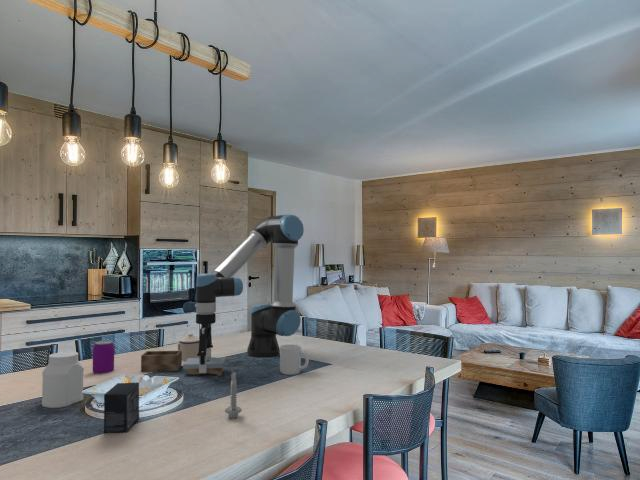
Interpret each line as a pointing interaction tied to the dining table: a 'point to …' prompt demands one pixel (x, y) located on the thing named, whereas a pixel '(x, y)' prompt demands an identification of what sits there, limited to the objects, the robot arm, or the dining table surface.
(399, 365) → the dining table surface
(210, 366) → the lid
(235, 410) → the screw
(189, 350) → the teacup with lid
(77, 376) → the jar
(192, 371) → the block
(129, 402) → the small box
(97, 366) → the beverage can
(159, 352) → the walnut box
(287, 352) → the mug
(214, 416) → the dining table surface
